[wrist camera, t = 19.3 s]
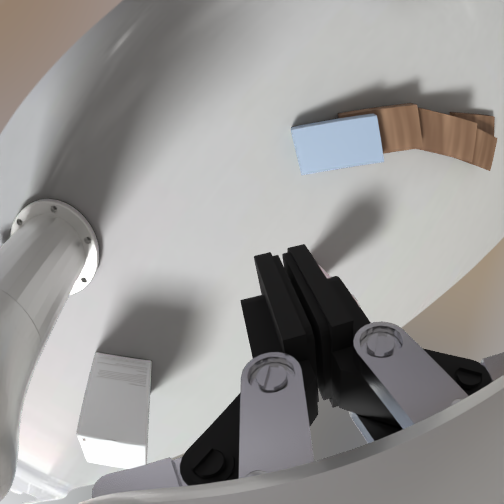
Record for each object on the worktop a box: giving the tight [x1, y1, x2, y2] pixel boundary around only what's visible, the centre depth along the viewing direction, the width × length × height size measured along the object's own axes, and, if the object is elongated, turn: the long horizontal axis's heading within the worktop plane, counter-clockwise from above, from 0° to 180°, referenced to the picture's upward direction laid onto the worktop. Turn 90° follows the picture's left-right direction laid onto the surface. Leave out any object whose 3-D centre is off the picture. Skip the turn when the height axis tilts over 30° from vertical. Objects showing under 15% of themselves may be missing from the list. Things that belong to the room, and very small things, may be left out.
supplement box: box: [76, 352, 152, 469], centre depth 38 cm, size 9×9×15 cm
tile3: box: [416, 108, 477, 162], centre depth 32 cm, size 2×5×9 cm
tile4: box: [457, 128, 497, 171], centre depth 34 cm, size 2×5×9 cm
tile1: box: [291, 114, 384, 175], centre depth 32 cm, size 2×5×9 cm
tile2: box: [338, 103, 423, 153], centre depth 32 cm, size 2×5×9 cm
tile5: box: [450, 112, 494, 136], centre depth 35 cm, size 2×5×9 cm
